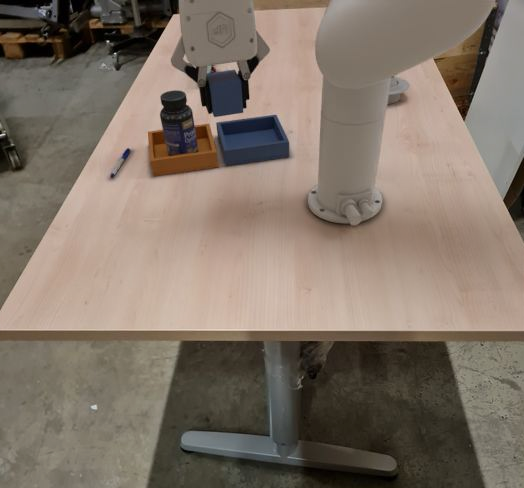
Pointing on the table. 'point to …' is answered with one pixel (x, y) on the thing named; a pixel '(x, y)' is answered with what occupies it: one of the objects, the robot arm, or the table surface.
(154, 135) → the amber tray
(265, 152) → the blue tray
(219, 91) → the block
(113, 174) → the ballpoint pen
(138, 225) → the table surface
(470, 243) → the table surface
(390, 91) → the grey flanged cylinder
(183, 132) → the pill bottle
